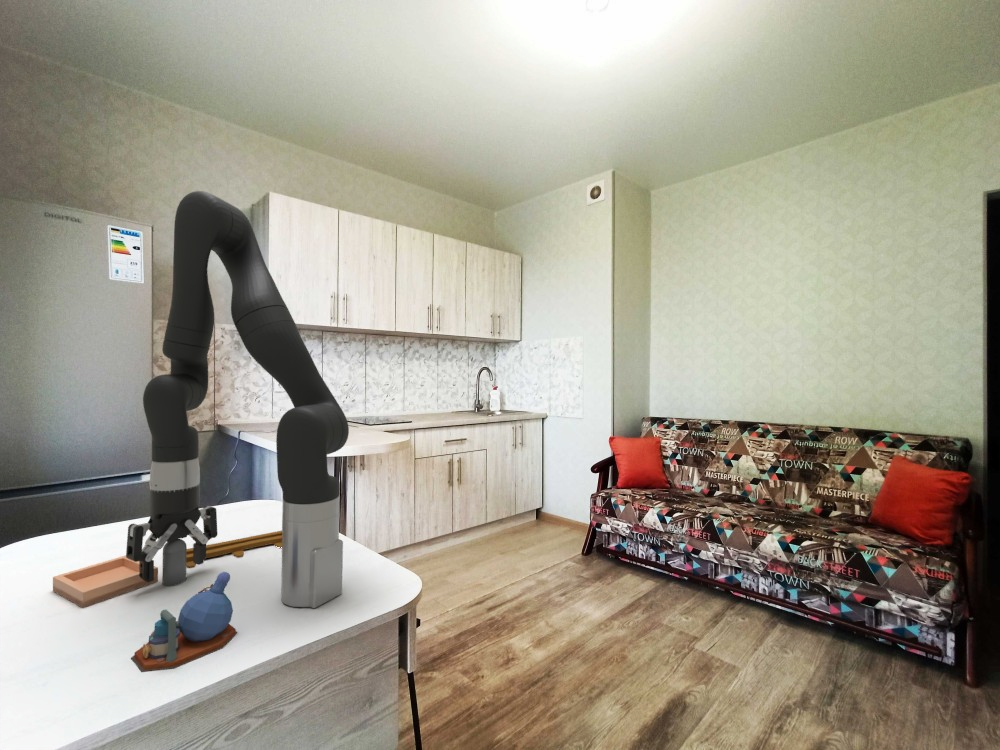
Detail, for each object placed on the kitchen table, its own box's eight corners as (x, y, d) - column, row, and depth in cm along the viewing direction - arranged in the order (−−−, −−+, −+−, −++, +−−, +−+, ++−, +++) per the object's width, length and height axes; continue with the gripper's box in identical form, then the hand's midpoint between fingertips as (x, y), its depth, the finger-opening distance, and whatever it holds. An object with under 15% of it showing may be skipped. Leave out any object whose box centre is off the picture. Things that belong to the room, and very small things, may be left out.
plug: (190, 579, 88) (190, 537, 88) (169, 587, 85) (169, 544, 84) (179, 575, 89) (179, 534, 89) (158, 582, 86) (158, 540, 86)
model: (218, 617, 76) (219, 560, 75) (245, 639, 70) (246, 577, 70) (125, 653, 66) (125, 587, 66) (147, 681, 60) (148, 609, 60)
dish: (157, 581, 87) (158, 567, 87) (83, 607, 77) (83, 592, 77) (126, 567, 92) (126, 555, 92) (52, 591, 82) (52, 576, 82)
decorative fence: (171, 556, 99) (177, 574, 91) (171, 547, 99) (177, 564, 91) (297, 531, 115) (311, 544, 107) (297, 523, 115) (311, 536, 107)
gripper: (141, 495, 79) (141, 593, 79) (226, 478, 91) (225, 562, 91) (118, 489, 82) (118, 582, 82) (203, 473, 95) (202, 554, 95)
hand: (174, 571), depth 87 cm, fingers open, 8 cm apart
